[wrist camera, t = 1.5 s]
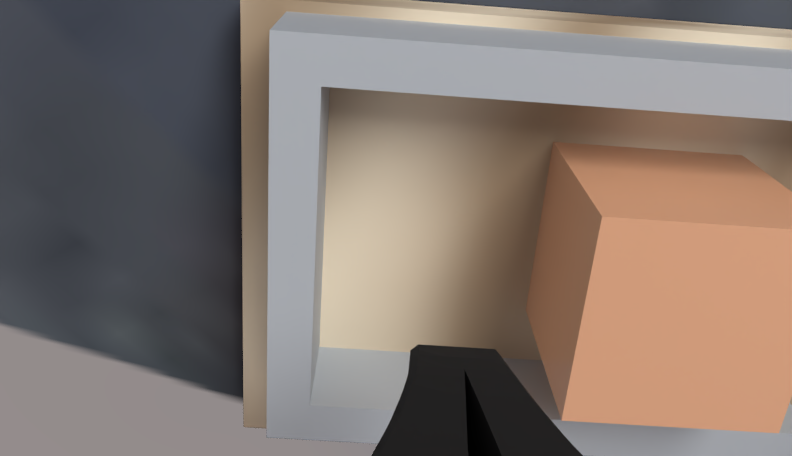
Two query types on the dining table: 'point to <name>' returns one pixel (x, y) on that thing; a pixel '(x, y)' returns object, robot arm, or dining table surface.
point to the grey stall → (476, 78)
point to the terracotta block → (664, 289)
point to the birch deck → (450, 185)
